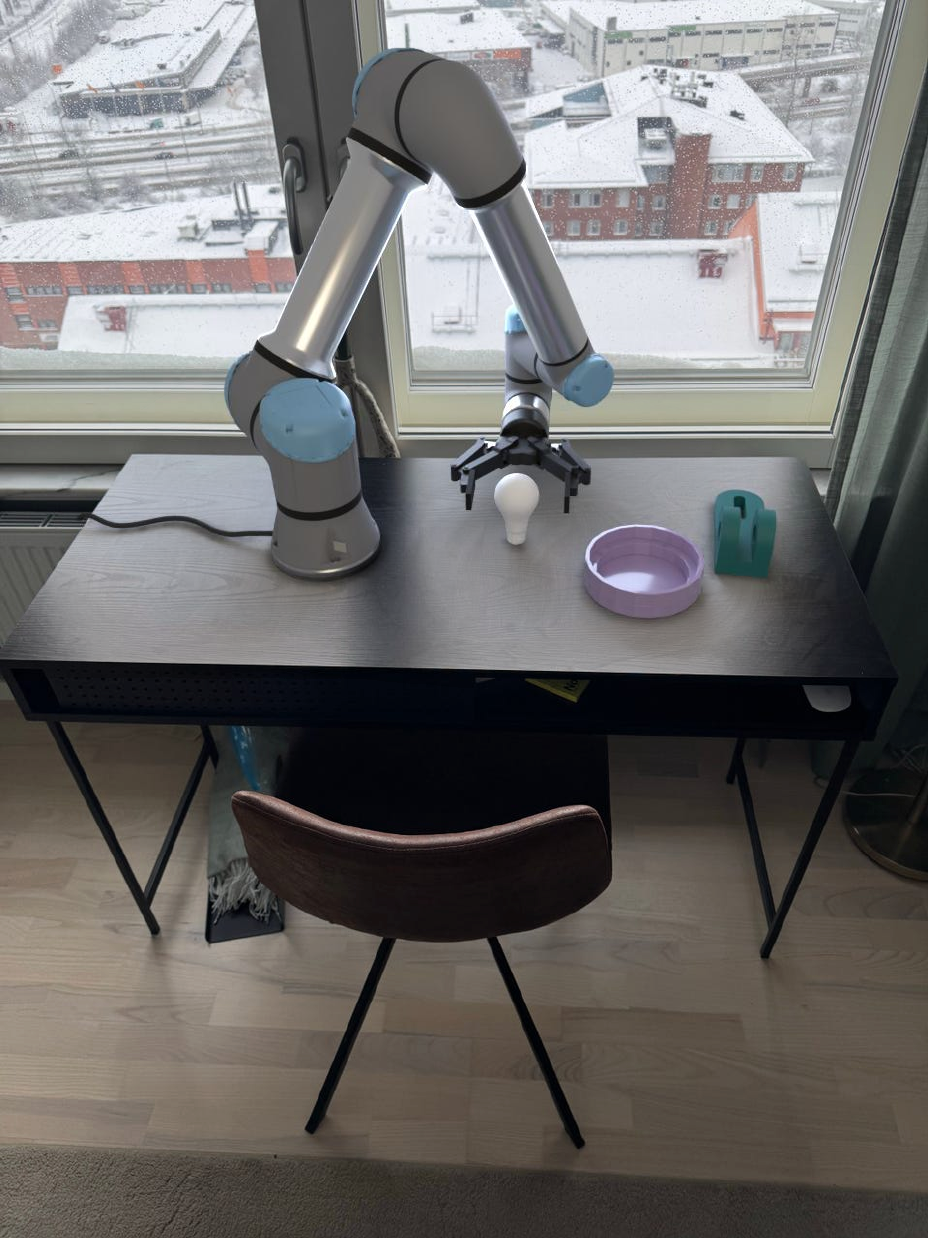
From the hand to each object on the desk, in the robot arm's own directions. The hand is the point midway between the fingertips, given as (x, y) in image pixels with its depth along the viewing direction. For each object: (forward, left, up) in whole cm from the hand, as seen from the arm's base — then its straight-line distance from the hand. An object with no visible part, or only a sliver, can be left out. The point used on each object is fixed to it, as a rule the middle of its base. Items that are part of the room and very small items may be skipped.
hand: (517, 503), depth 129 cm
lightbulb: (0, -1, -6) cm, 6 cm away
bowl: (+19, -3, -6) cm, 20 cm away
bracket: (+28, +13, -6) cm, 32 cm away
